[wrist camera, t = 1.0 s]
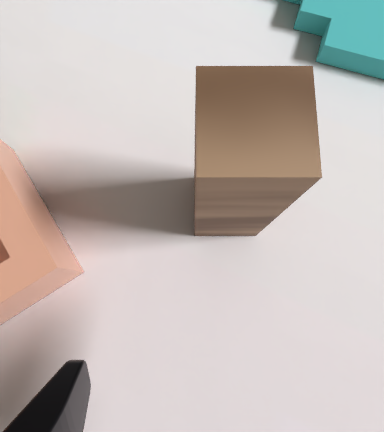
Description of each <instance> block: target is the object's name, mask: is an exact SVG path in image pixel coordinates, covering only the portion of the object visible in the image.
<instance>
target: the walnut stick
mask: <svg viewBox="0 0 384 432" xmlns="http://www.w3.org/2000/svg"><path fill="white" fill-rule="evenodd" d="M321 178H322V173H321V161H320V148H319V136H318V124H317V112H316V100H315V88H314V76H313V66H196V104H195V169H194V236H256V235H257V234H258V233H259V232H260V231H262V230H263V229H264V228H265V227H266V226H267V225H268V224H270V223H271V222H272V221H273V220H274V219H275V218H276V217H277V216H279V215H280V214H281V213H282V212H283V211H284V210H285V209H287V208H288V207H289V206H290V205H291V204H292V203H293V202H294V201H296V200H297V199H298V198H299V197H300V196H301V195H302V194H304V193H305V192H306V191H307V190H308V189H309V188H310V187H311V186H313V185H314V184H315V183H316V182H317V181H318V180H319V179H321Z"/></svg>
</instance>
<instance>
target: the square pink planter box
mask: <svg viewBox="0 0 384 432" xmlns="http://www.w3.org/2000/svg"><path fill="white" fill-rule="evenodd" d="M82 273H84V271H83V269H82V268H81V266H80V264H79V262H78V261H77V259H76V257H75V255H74V254H73V252H72V250H71V249H70V247H69V245H68V243H67V242H66V240H65V238H64V236H63V235H62V233H61V231H60V230H59V228H58V226H57V224H56V223H55V221H54V219H53V217H52V216H51V214H50V212H49V210H48V209H47V207H46V205H45V204H44V202H43V200H42V198H41V197H40V195H39V193H38V191H37V190H36V188H35V186H34V185H33V183H32V181H31V179H30V178H29V176H28V174H27V172H26V171H25V169H24V167H23V165H22V164H21V162H20V160H19V159H18V157H17V155H16V153H15V152H14V150H13V149H12V148H11V147H9V146H8V145H7V144H6V143H4V142H3V141H2V140H1V139H0V325H1V324H3V323H4V322H6V321H8V320H9V319H11V318H12V317H14V316H16V315H17V314H19V313H20V312H22V311H23V310H25V309H27V308H28V307H30V306H31V305H33V304H35V303H36V302H38V301H39V300H41V299H43V298H44V297H46V296H47V295H49V294H50V293H52V292H54V291H55V290H57V289H58V288H60V287H62V286H63V285H65V284H66V283H68V282H69V281H71V280H73V279H74V278H76V277H77V276H79V275H81V274H82Z"/></svg>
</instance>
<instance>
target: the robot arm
mask: <svg viewBox="0 0 384 432" xmlns="http://www.w3.org/2000/svg"><path fill="white" fill-rule="evenodd" d="M90 388H91V384H90V378H89V373H88V368H87V364H86V362H85V361H84V360H69V361H67V362H66V363H65V364H64V365H63V366H62V367H61V369H60V370H59V371H58V372H57V373H56V374H55V375H54V376H53V377H52V378H51V379H50V381H49V382H48V383H47V384H46V385H45V386H44V387H43V388H42V389H41V390H40V392H39V393H38V394H37V395H36V396H35V397H34V398H33V399H32V400H31V401H30V402H29V404H28V405H27V406H26V407H25V408H24V409H23V410H22V411H21V412H20V413H19V414H18V416H17V417H16V418H15V419H14V420H13V421H12V422H11V423H10V424H9V425H8V426H7V428H6V429H5V430H4V431H3V432H83V429H84V423H85V418H86V412H87V407H88V401H89V395H90Z"/></svg>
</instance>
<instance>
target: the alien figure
mask: <svg viewBox="0 0 384 432" xmlns="http://www.w3.org/2000/svg"><path fill="white" fill-rule="evenodd" d="M284 1H287V2H291V3H295V4H299V5H300V7H299V11H298V14H297V18H296V21H295V25H294V28H293V29H296V30H300V31H304V32H307V33H311V34H315V35H319V36H322V40H321V43H320V47H319V51H318V55H317V59H316V62H319V63H323V64H327V65H330V66H334V67H338V68H342V69H346V70H349V71H353V72H357V73H361V74H364V75H368V76H372V77H376V78H380V79H383V80H384V0H284Z"/></svg>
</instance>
